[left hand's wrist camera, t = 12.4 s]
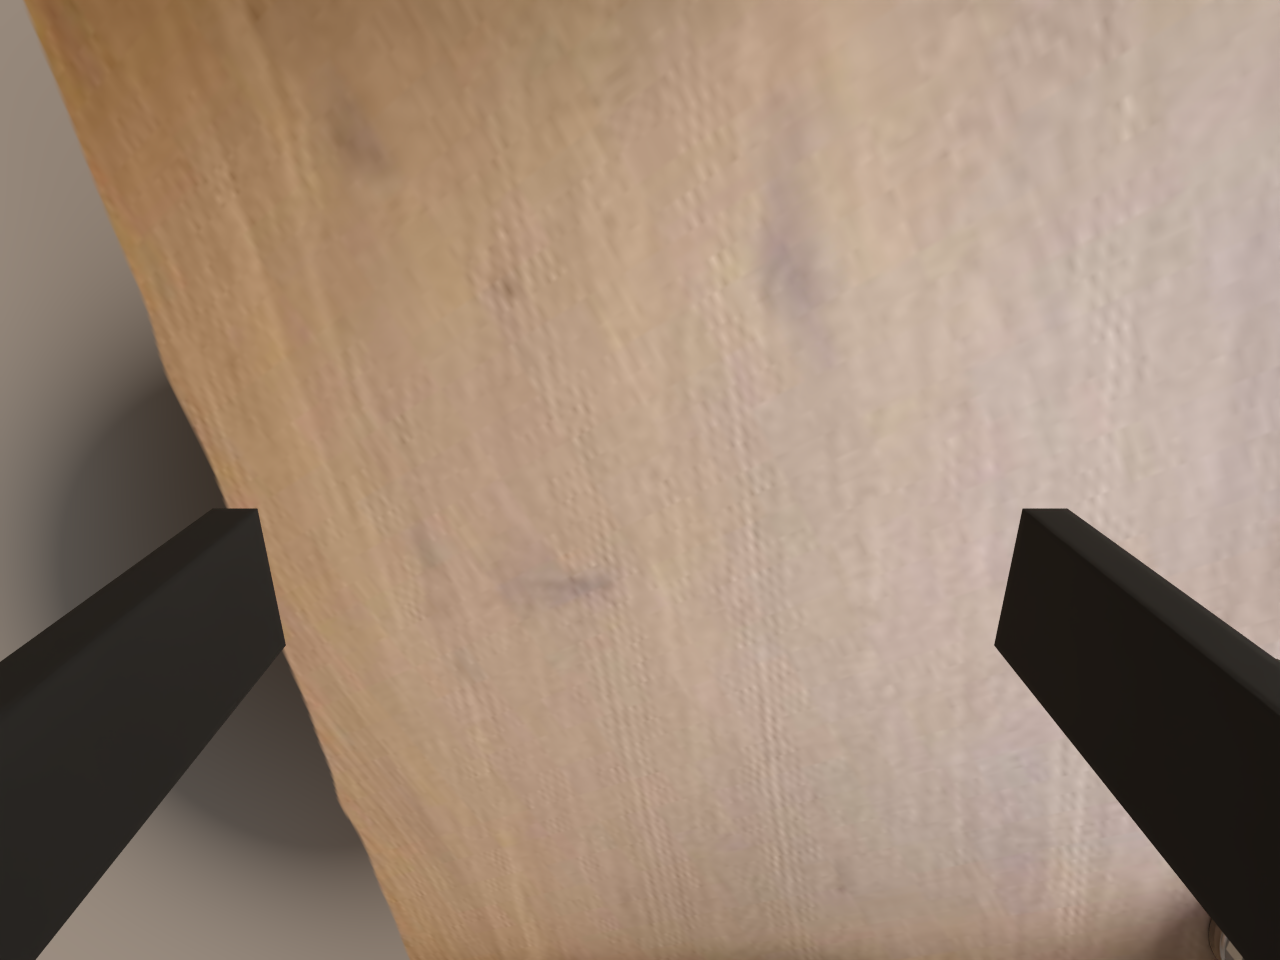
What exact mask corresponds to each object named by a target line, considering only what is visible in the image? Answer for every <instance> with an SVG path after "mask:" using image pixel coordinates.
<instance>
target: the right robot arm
mask: <svg viewBox="0 0 1280 960" xmlns="http://www.w3.org/2000/svg"><path fill="white" fill-rule="evenodd" d="M1209 942H1210V946H1211V949H1212V951H1213V953H1214V955H1215V957H1216V958H1217V960H1244V958H1243V957H1242V956H1241V955H1240V953H1239V952H1238V951H1237V950H1236V948H1235V947H1234V946H1233V945H1232V943H1231V942H1230V941H1229V940H1228V938H1227V937H1226V936H1225V935H1224V933H1223V932H1222V931H1221V930H1220V928H1219V927H1218V926H1217V925H1216V923H1215V922H1214V921H1213V919H1212V920H1211V923H1210V928H1209Z"/></svg>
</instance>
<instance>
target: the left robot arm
mask: <svg viewBox="0 0 1280 960" xmlns="http://www.w3.org/2000/svg"><path fill="white" fill-rule="evenodd" d="M285 646H286V644H285V639H284V634H283V630H282V625H281V620H280V615H279V610H278V606H277V601H276V596H275V591H274V586H273V582H272V577H271V572H270V567H269V562H268V557H267V553H266V548H265V543H264V538H263V533H262V529H261V524H260V519H259V514H258V509H212V510H210V511H209V512H207V513H206V514H205V515H203V516H202V517H200V518H199V519H198V520H196V521H195V522H193V523H192V524H191V525H189V526H188V527H187V528H185V529H184V530H182V531H181V532H180V533H178V534H177V535H175V536H174V537H173V538H171V539H170V540H169V541H167V542H166V543H164V544H163V545H162V546H160V547H159V548H157V549H156V550H155V551H153V552H152V553H151V554H149V555H148V556H146V557H145V558H144V559H142V560H141V561H140V562H138V563H137V564H135V565H134V566H132V567H131V568H130V569H128V570H127V571H126V572H124V573H123V574H121V575H120V576H119V577H117V578H116V579H114V580H113V581H112V582H110V583H109V584H108V585H106V586H105V587H103V588H102V589H101V590H99V591H98V592H96V593H95V594H94V595H92V596H91V597H90V598H88V599H87V600H85V601H84V602H83V603H81V604H80V605H78V606H77V607H76V608H74V609H73V610H72V611H70V612H69V613H67V614H66V615H65V616H63V617H62V618H60V619H59V620H58V621H56V622H55V623H54V624H52V625H51V626H49V627H48V628H47V629H45V630H44V631H43V632H41V633H40V634H38V635H37V636H36V637H34V638H33V639H31V640H30V641H29V642H27V643H26V644H24V645H23V646H22V647H20V648H19V649H17V650H16V651H15V652H13V653H12V654H11V655H9V656H8V657H6V658H5V659H4V660H2V661H1V662H0V960H36V958H37V957H38V956H39V955H40V953H41V952H42V951H43V950H44V948H45V947H46V946H47V945H48V943H49V942H50V941H51V940H52V938H53V937H54V936H55V934H56V933H57V932H58V931H59V930H60V928H61V927H62V926H63V924H64V923H65V922H66V921H67V919H68V918H69V917H70V916H71V914H72V913H73V912H74V911H75V909H76V908H77V907H78V906H79V904H80V903H81V902H82V901H83V899H84V898H85V897H86V896H87V894H88V893H89V892H90V891H91V889H92V888H93V887H94V886H95V884H96V883H97V882H98V881H99V879H100V878H101V877H102V876H103V874H104V873H105V872H106V870H107V869H108V868H109V867H110V865H111V864H112V863H113V862H114V860H115V859H116V858H117V857H118V855H119V854H120V853H121V852H122V850H123V849H124V848H125V847H126V845H127V844H128V843H129V842H130V840H131V839H132V838H133V837H134V835H135V834H136V833H137V832H138V830H139V829H140V828H141V826H142V825H143V824H144V823H145V821H146V820H147V819H148V818H149V816H150V815H151V814H152V813H153V811H154V810H155V809H156V808H157V806H158V805H159V804H160V803H161V801H162V800H163V799H164V798H165V796H166V795H167V794H168V793H169V791H170V790H171V789H172V788H173V786H174V785H175V784H176V783H177V781H178V780H179V779H180V777H181V776H182V775H183V774H184V772H185V771H186V770H187V769H188V767H189V766H190V765H191V764H192V762H193V761H194V760H195V759H196V757H197V756H198V755H199V754H200V752H201V751H202V750H203V749H204V747H205V746H206V745H207V744H208V742H209V741H210V740H211V739H212V737H213V736H214V735H215V734H216V732H217V731H218V730H219V729H220V727H221V726H222V725H223V723H224V722H225V721H226V720H227V718H228V717H229V716H230V715H231V713H232V712H233V711H234V710H235V708H236V707H237V706H238V705H239V703H240V702H241V701H242V700H243V698H244V697H245V696H246V695H247V693H248V692H249V691H250V690H251V688H252V687H253V686H254V685H255V683H256V682H257V681H258V680H259V678H260V677H261V676H262V675H263V673H264V672H265V671H266V669H267V668H268V667H269V666H270V664H271V663H272V662H273V661H274V659H275V658H276V657H277V656H278V654H279V653H280V652H281V651H282V649H283V648H284V647H285ZM994 646H995V647H996V648H997V649H998V651H999V652H1000V653H1001V654H1002V656H1003V657H1004V658H1005V659H1006V661H1007V662H1008V663H1009V664H1010V666H1011V667H1012V668H1013V669H1014V671H1015V672H1016V673H1017V675H1018V676H1019V677H1020V678H1021V680H1022V681H1023V682H1024V683H1025V685H1026V686H1027V687H1028V688H1029V690H1030V691H1031V692H1032V693H1033V695H1034V696H1035V697H1036V698H1037V700H1038V701H1039V702H1040V703H1041V705H1042V706H1043V707H1044V708H1045V710H1046V711H1047V712H1048V713H1049V715H1050V716H1051V717H1052V718H1053V720H1054V721H1055V722H1056V724H1057V725H1058V726H1059V727H1060V729H1061V730H1062V731H1063V732H1064V734H1065V735H1066V736H1067V737H1068V739H1069V740H1070V741H1071V742H1072V744H1073V745H1074V746H1075V747H1076V749H1077V750H1078V751H1079V752H1080V754H1081V755H1082V756H1083V757H1084V759H1085V760H1086V761H1087V762H1088V764H1089V765H1090V766H1091V767H1092V769H1093V770H1094V771H1095V773H1096V774H1097V775H1098V776H1099V778H1100V779H1101V780H1102V781H1103V783H1104V784H1105V785H1106V786H1107V788H1108V789H1109V790H1110V791H1111V793H1112V794H1113V795H1114V796H1115V798H1116V799H1117V800H1118V801H1119V803H1120V804H1121V805H1122V806H1123V808H1124V809H1125V810H1126V811H1127V813H1128V814H1129V815H1130V816H1131V818H1132V819H1133V820H1134V821H1135V823H1136V824H1137V825H1138V827H1139V828H1140V829H1141V830H1142V832H1143V833H1144V834H1145V835H1146V837H1147V838H1148V839H1149V840H1150V842H1151V843H1152V844H1153V845H1154V847H1155V848H1156V849H1157V850H1158V852H1159V853H1160V854H1161V855H1162V857H1163V858H1164V859H1165V860H1166V862H1167V863H1168V864H1169V865H1170V867H1171V868H1172V869H1173V870H1174V872H1175V873H1176V874H1177V876H1178V877H1179V878H1180V879H1181V881H1182V882H1183V883H1184V884H1185V886H1186V887H1187V888H1188V889H1189V891H1190V892H1191V893H1192V894H1193V896H1194V897H1195V898H1196V899H1197V901H1198V902H1199V903H1200V904H1201V906H1202V907H1203V908H1204V909H1205V911H1206V912H1207V913H1208V914H1209V916H1210V917H1211V918H1212V919H1213V921H1214V922H1215V923H1216V925H1217V926H1218V927H1219V928H1220V930H1221V931H1222V932H1223V933H1224V935H1225V936H1226V937H1227V938H1228V940H1229V941H1230V942H1231V943H1232V945H1233V946H1234V947H1235V948H1236V950H1237V951H1238V952H1239V953H1240V955H1241V956H1242V957H1243V958H1244V960H1280V660H1278V659H1275V658H1274V657H1272V656H1271V655H1269V654H1268V653H1267V652H1265V651H1264V650H1263V649H1261V648H1260V647H1258V646H1257V645H1256V644H1254V643H1253V642H1251V641H1250V640H1249V639H1247V638H1246V637H1245V636H1243V635H1242V634H1240V633H1239V632H1238V631H1236V630H1235V629H1233V628H1232V627H1231V626H1229V625H1228V624H1226V623H1225V622H1224V621H1222V620H1221V619H1220V618H1218V617H1217V616H1215V615H1214V614H1213V613H1211V612H1210V611H1208V610H1207V609H1206V608H1204V607H1203V606H1202V605H1200V604H1199V603H1197V602H1196V601H1195V600H1193V599H1192V598H1190V597H1189V596H1188V595H1186V594H1185V593H1184V592H1182V591H1181V590H1179V589H1178V588H1177V587H1175V586H1174V585H1172V584H1171V583H1170V582H1168V581H1167V580H1166V579H1164V578H1163V577H1161V576H1160V575H1159V574H1157V573H1156V572H1154V571H1153V570H1152V569H1150V568H1149V567H1148V566H1146V565H1145V564H1143V563H1142V562H1141V561H1139V560H1138V559H1136V558H1135V557H1134V556H1132V555H1131V554H1129V553H1128V552H1127V551H1125V550H1124V549H1123V548H1121V547H1120V546H1118V545H1117V544H1116V543H1114V542H1113V541H1111V540H1110V539H1109V538H1107V537H1106V536H1105V535H1103V534H1102V533H1100V532H1099V531H1098V530H1096V529H1095V528H1093V527H1092V526H1091V525H1089V524H1088V523H1087V522H1085V521H1084V520H1082V519H1081V518H1080V517H1078V516H1077V515H1075V514H1074V513H1073V512H1071V511H1070V510H1069V509H1022V514H1021V519H1020V524H1019V529H1018V533H1017V538H1016V543H1015V548H1014V553H1013V557H1012V562H1011V567H1010V572H1009V577H1008V582H1007V586H1006V591H1005V596H1004V601H1003V606H1002V610H1001V615H1000V620H999V625H998V630H997V634H996V639H995V644H994Z"/></svg>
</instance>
